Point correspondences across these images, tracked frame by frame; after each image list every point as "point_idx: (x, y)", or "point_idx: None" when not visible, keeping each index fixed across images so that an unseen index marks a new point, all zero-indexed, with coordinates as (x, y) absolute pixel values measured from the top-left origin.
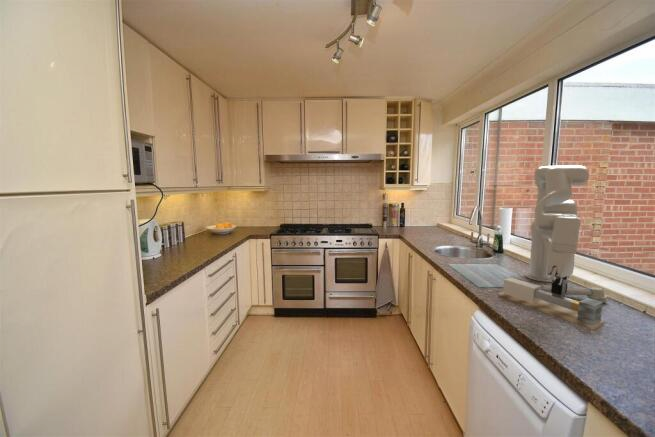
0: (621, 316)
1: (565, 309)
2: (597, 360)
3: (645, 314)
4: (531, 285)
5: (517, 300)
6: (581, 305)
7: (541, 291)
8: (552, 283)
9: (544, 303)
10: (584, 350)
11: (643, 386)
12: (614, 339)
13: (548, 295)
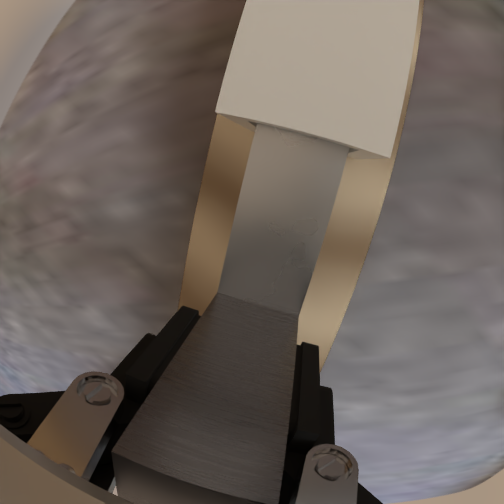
0: (419, 465)
1: (311, 326)
2: (6, 374)
3: (474, 484)
4: (328, 62)
5: None
6: None
7: (283, 186)
8: (127, 374)
9: None
10: (15, 358)
11: None
12: None
13: (224, 261)
